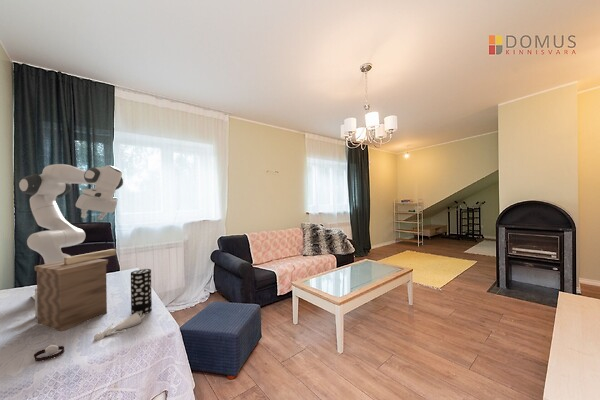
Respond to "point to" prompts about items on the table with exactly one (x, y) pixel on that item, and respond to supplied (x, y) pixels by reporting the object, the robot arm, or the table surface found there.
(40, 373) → the table surface
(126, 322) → the woman figurine
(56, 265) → the stand
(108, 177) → the robot arm
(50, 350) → the watch
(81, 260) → the rod
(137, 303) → the white-spotted black cylinder
